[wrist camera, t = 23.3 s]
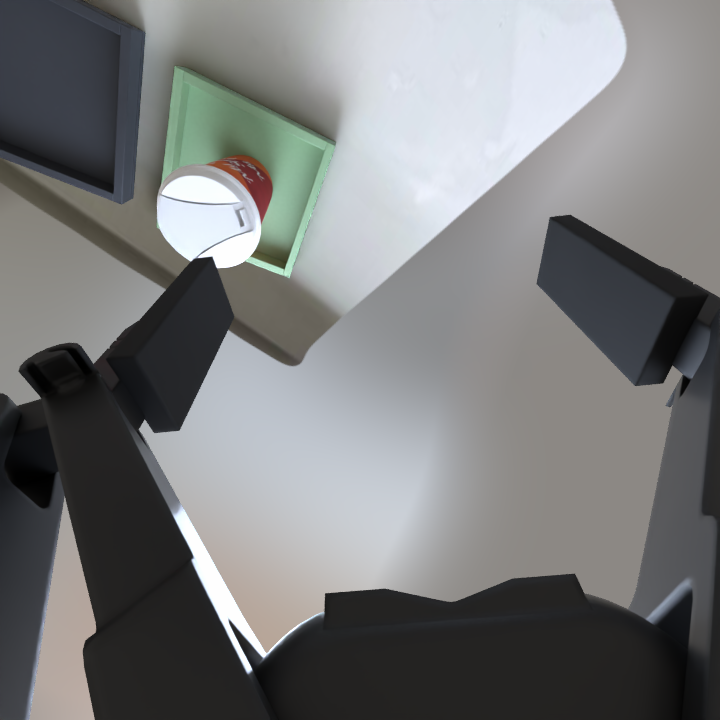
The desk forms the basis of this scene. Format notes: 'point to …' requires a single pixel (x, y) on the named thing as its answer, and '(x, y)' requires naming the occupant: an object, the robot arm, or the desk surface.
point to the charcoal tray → (71, 93)
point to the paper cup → (215, 209)
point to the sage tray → (255, 139)
